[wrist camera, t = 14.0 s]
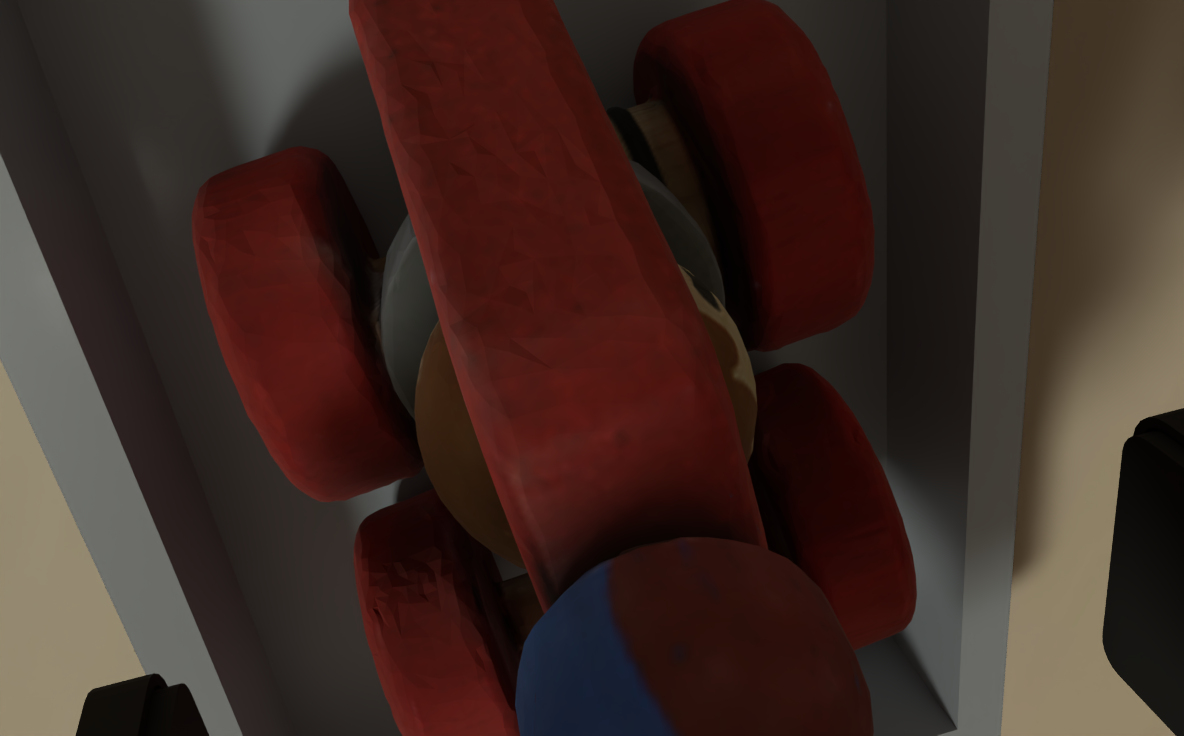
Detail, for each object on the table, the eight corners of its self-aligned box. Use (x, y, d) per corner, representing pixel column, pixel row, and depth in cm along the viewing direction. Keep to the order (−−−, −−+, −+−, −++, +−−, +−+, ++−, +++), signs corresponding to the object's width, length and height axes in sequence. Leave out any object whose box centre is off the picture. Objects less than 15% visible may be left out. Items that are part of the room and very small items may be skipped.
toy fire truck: (690, -188, 13) (1575, -151, 4) (832, 577, 19) (1302, 1270, 10) (119, -12, 12) (-370, 499, 3) (456, 717, 19) (602, 1579, 10)
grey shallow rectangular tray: (918, 638, 21) (999, 749, 18) (283, 819, 19) (280, 967, 17) (938, -417, 13) (1087, -468, 10) (-163, -264, 11) (-295, -282, 9)
